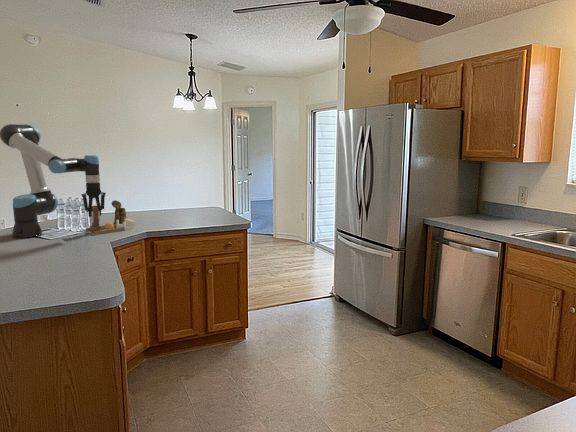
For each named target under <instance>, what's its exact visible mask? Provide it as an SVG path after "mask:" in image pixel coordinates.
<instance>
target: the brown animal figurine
mask: <svg viewBox="0 0 576 432" xmlns="http://www.w3.org/2000/svg"><path fill="white" fill-rule="evenodd" d="M111 206H112V207H113V208H114V209H115V210H114V221H113V225H115V224H116V220H119V224H123V222H125V220H124V219H128V218H127V217H128V216H127V211H126V208H125V207H122V202H120V201H118V200H112V202H111ZM116 225H117V224H116Z"/></svg>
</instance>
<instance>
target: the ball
mask: <svg viewBox="0 0 576 432" xmlns="http://www.w3.org/2000/svg"><path fill="white" fill-rule="evenodd" d="M114 225H115V224H114V223H112V222H106V223H105V224H104V226H105V229H106V230H109V229H113V228H114Z"/></svg>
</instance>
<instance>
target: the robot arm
mask: <svg viewBox="0 0 576 432" xmlns="http://www.w3.org/2000/svg"><path fill="white" fill-rule="evenodd" d="M0 140H1V141H2V142H3V144H5V145H6V146H8V147H9V148H11V149H16V150H18V151H19V152H20V155H21V158H22V162H23V165H24V169H25V173H26V177H27V181H28V183H29V187H30V192H29V193H25V194H20V195H17V196H15V197H14V198H13V199H12V209H13V221H14V224H13V228H12V231H11V234H12V236H11V237H12V238H14V239H28V238H27V237H31V238H34V237H33V236H36V235H39V234H42V235H43V230H42V228H41V225H40V223H39V221H38V219H39V218H38V216H41V215H46V214H47V215H48V214H51V213H53V212H55V211H56V210H57V208H58V205H59V200H58V197H57V196H56V195H55V194H53V193H52V191H51V189H49V188H48V186H47V182H46V179H45V178H46V177H45V176H44V172H43V171H44V170H43V168H42V164H43V165H45V166H46V167H48V169H49V171H50V172H51V173H52V174H59V175H60V174H66V173H73V172H84V175H85V182H86V183H85V192H84V193H81V197H82V202H83V206H84V210H85V211H86V212H88V217H89V218H90V222H91V224H92V223H93V222H94V219H93V211H92V206H93V200H95V204H96V206H98V214H99V223H100V222H101V216H102V210H105V197H106V192H104V191H102V190H101V182H100V181H101V178H100V176H101V175H100V162H99V156H98V155H96V154H95V155H91V154H90V155H89V154H88V155H84V156H83V158H79V157H70V158H69V157H68V158H61V157H60V156H58V155H56V154H55V153H52V152H51V151H49V150H47V149H46V148H43V147H42V146H40V145H39V143H40V141H41V133H40V131H39V130H38V128H36V127H35V126H33V125H31V124H12V123H11V124H10V123H8V124H6V125H4V126H3V127H2V128H0ZM87 196H88V199H87Z"/></svg>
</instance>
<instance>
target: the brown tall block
mask: <svg viewBox="0 0 576 432" xmlns="http://www.w3.org/2000/svg"><path fill="white" fill-rule="evenodd" d="M92 211H93V219H94V222H93V223H92V222H91V225H89V228H90V232H93V233H94V231H101V230H102V228H101V226H102V225H100V222H99V214H98V206H97V205H92Z"/></svg>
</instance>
